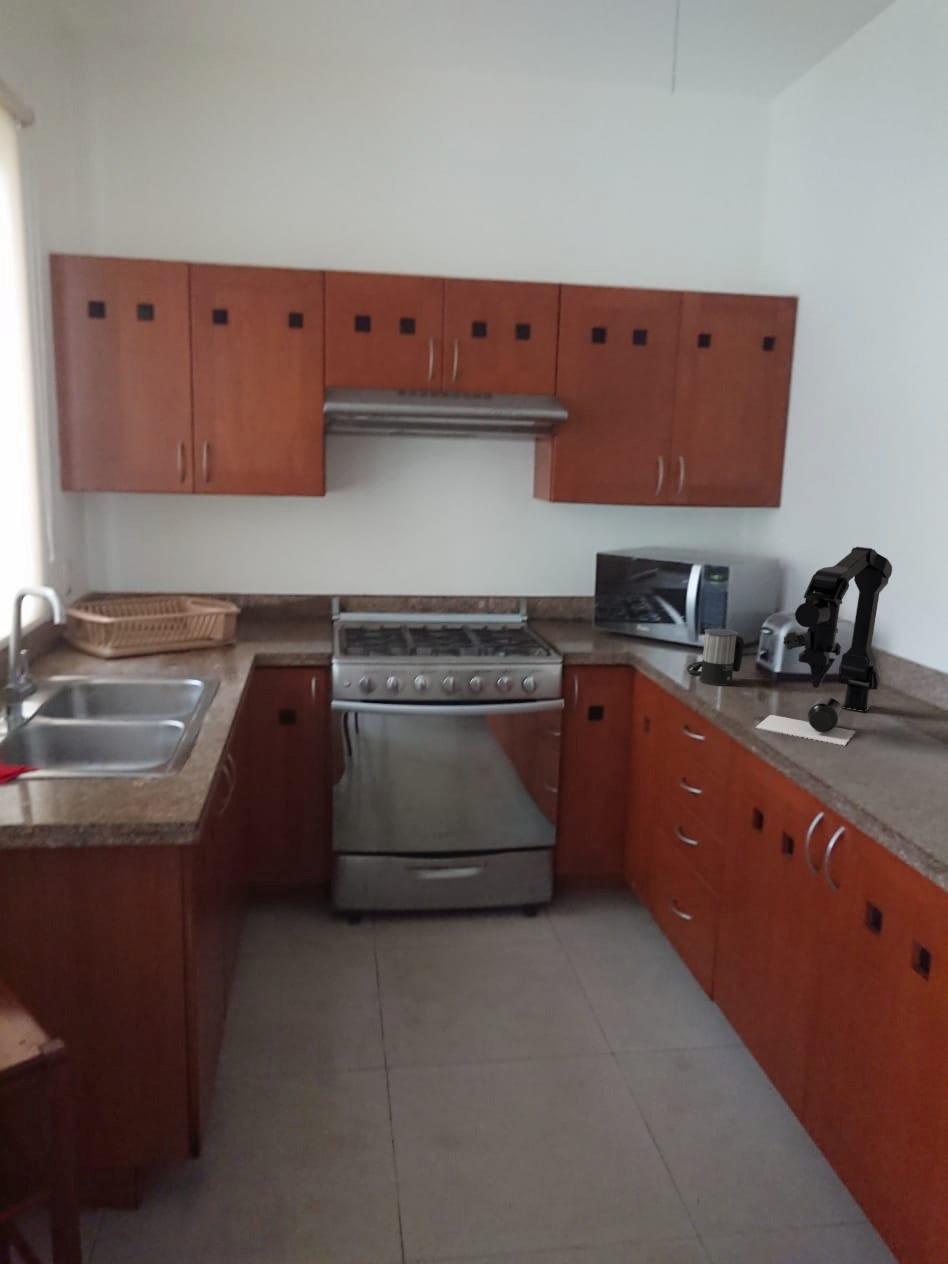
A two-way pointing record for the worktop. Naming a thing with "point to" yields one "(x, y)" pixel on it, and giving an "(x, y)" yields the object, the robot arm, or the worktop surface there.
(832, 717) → the supplement bottle
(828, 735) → the mat
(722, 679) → the milk frother
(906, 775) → the worktop surface
